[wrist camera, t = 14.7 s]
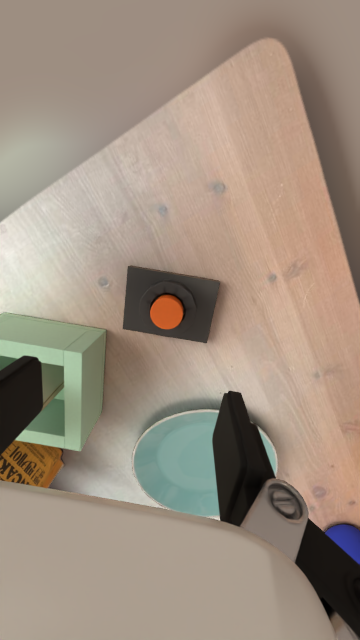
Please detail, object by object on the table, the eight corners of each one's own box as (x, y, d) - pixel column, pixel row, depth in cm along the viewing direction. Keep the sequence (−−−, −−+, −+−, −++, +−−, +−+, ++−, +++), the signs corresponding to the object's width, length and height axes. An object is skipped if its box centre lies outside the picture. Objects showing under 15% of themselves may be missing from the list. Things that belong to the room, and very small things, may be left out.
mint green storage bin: (13, 396, 34) (-30, 432, 28) (4, 312, 30) (-49, 331, 23) (102, 411, 34) (80, 451, 28) (106, 329, 30) (82, 353, 23)
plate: (295, 417, 33) (304, 432, 30) (245, 511, 40) (249, 530, 37) (150, 381, 32) (146, 394, 29) (126, 484, 39) (121, 501, 36)
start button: (151, 321, 26) (148, 326, 25) (154, 292, 25) (152, 295, 23) (180, 326, 26) (180, 331, 25) (185, 297, 25) (185, 301, 23)
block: (125, 325, 29) (118, 334, 27) (130, 265, 27) (123, 267, 24) (206, 339, 29) (207, 349, 27) (219, 280, 27) (222, 284, 24)
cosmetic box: (45, 389, 32) (-37, 468, 21) (25, 365, 31) (-73, 434, 20) (79, 372, 31) (12, 446, 19) (59, 346, 30) (-24, 409, 18)
